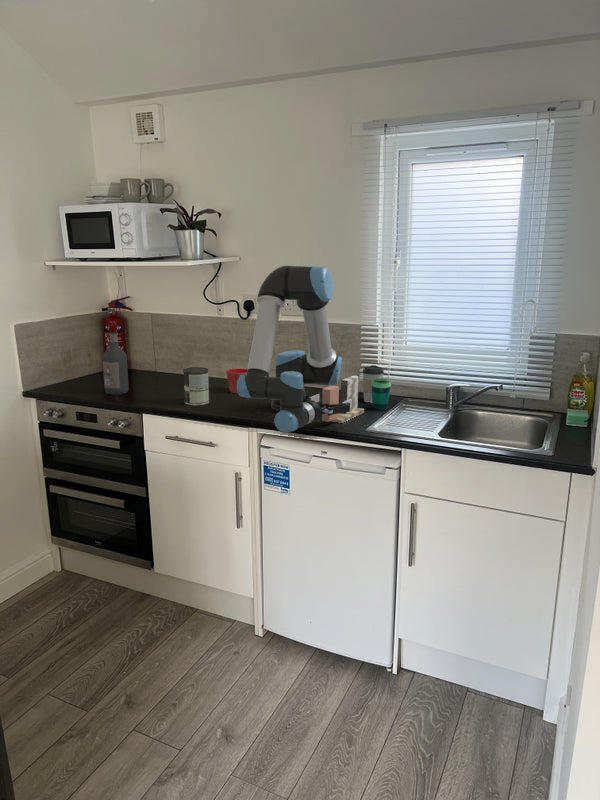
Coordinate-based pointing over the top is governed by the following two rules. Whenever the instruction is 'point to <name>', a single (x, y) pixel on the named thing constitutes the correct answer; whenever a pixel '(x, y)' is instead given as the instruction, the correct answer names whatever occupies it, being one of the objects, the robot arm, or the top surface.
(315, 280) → the robot arm
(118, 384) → the liquor
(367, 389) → the coffee cup
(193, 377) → the coffee can
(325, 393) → the salmon orange block
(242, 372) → the flower pot
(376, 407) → the cup
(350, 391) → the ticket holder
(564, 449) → the top surface
